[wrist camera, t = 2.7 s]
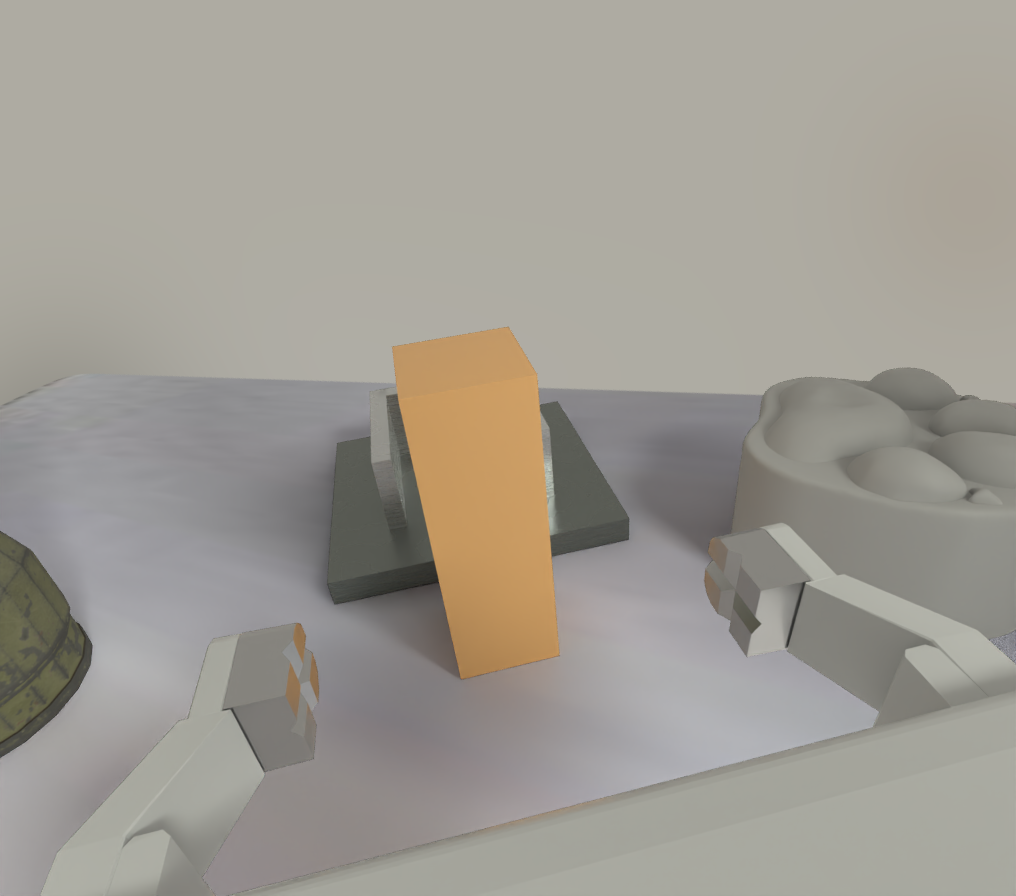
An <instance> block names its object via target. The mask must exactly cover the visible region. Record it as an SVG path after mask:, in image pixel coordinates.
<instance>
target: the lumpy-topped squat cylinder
mask: <svg viewBox="0 0 1016 896" xmlns="http://www.w3.org/2000/svg"><path fill="white" fill-rule="evenodd" d="M778 523H784V524H786V525H788V526H789V527H790V528H791V529H792V530H793V531H794V532H795V533H796V534H797V535H798V536H799V537H800V538H801V539H802V540H803V541H804V542H805V543H806V544H807V545H808V546H809V547H810V548H811V549H812V550H813V551H814V552H815V553H816V554H817V555H818V556H819V557H820V558H821V559H822V560H823V561H824V562H825V563H826V565H827V566H828V567H829V568H830V569H831V570H832V571H833V572H834V573H835V574H836V575H843V574H845V575H847V576H850V577H852V578H854V579H857V580H859V581H862V582H864V583H866V584H869V585H871V586H873V587H876V588H878V589H881V590H883V591H885V592H888V593H890V594H892V595H895V596H897V597H900V598H902V599H904V600H907V601H909V602H912V603H914V604H916V605H919V606H921V607H923V608H926V609H928V610H931V611H933V612H935V613H938V614H940V615H942V616H945V617H947V618H950V619H952V620H954V621H957V622H959V623H961V624H964V625H966V626H969V627H971V628H973V629H976V630H978V631H979V632H980V633H981V634H982V635H984V636H985V637H986V638H987V639H993V638H997V637H1001V636H1004V635H1006V634H1009V633H1011V632H1013V631H1015V630H1016V408H1015V407H1012V406H1010V405H1008V404H1005V403H1001V402H997V401H990V400H981V399H979V398H978V397H975V396H972V395H965V396H961V395H957V394H956V393H955V391H954V390H953V389H952V387H951V386H950V385H949V384H948V383H946V382H945V381H944V380H942V379H941V378H939V377H938V376H936V375H934V374H933V373H930V372H928V371H925V370H922V369H917V368H896V369H891V370H887V371H884V372H882V373H880V374H878V375H877V376H875V377H874V378H873V379H872V380H871V381H869V382H867V381H856V380H848V379H836V378H822V377H821V378H820V377H805V378H798V379H793V380H788V381H784V382H781V383H778V384H776V385H773V386H772V387H770V388H769V389H768V390H767V391H766V392H765V393H764V395H763V398H762V402H761V409H760V415H759V420H758V422H757V423H756V424H755V425H754V426H753V427H752V429H750V431H749V432H748V433H747V435H746V437H745V439H744V442H743V447H742V457H741V463H740V468H739V477H738V484H737V492H736V500H735V507H734V515H733V522H732V529H731V533H736V532H741V531H745V530H750V529H755V528H759V527H764V526H769V525H773V524H778Z"/></svg>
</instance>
